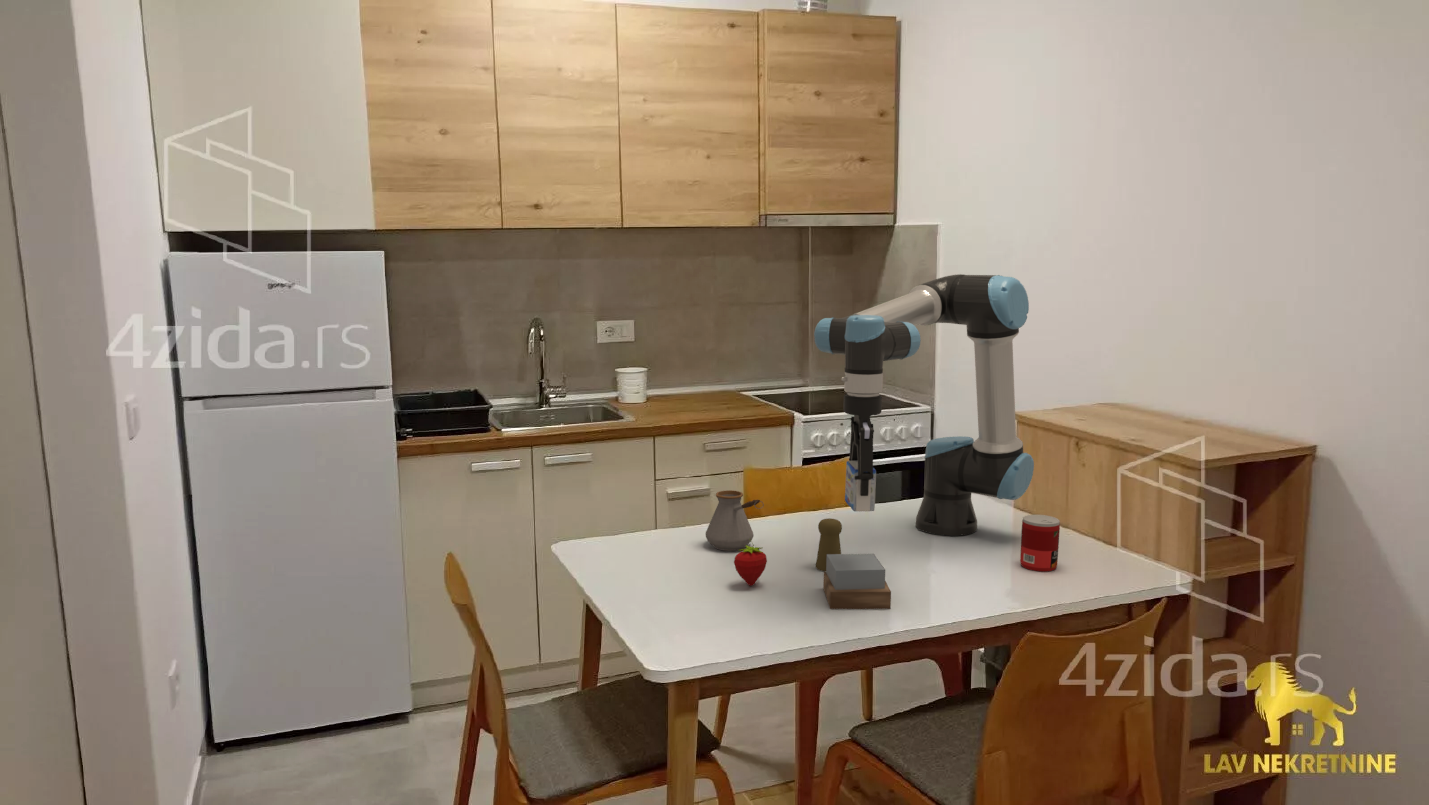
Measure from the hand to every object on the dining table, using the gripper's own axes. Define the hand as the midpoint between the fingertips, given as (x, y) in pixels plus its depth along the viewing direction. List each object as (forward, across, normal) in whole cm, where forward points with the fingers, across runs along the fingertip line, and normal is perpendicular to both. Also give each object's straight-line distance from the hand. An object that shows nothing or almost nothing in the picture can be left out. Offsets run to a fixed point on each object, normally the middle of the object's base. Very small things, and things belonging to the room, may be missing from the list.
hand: (859, 504), depth 206 cm
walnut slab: (+20, 0, 0) cm, 20 cm away
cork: (+20, -19, -4) cm, 28 cm away
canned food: (+20, -20, +44) cm, 52 cm away
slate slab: (+16, 0, 0) cm, 16 cm away
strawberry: (+20, -7, -22) cm, 30 cm away
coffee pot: (+20, -30, -23) cm, 43 cm away
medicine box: (+1, 0, 0) cm, 1 cm away
